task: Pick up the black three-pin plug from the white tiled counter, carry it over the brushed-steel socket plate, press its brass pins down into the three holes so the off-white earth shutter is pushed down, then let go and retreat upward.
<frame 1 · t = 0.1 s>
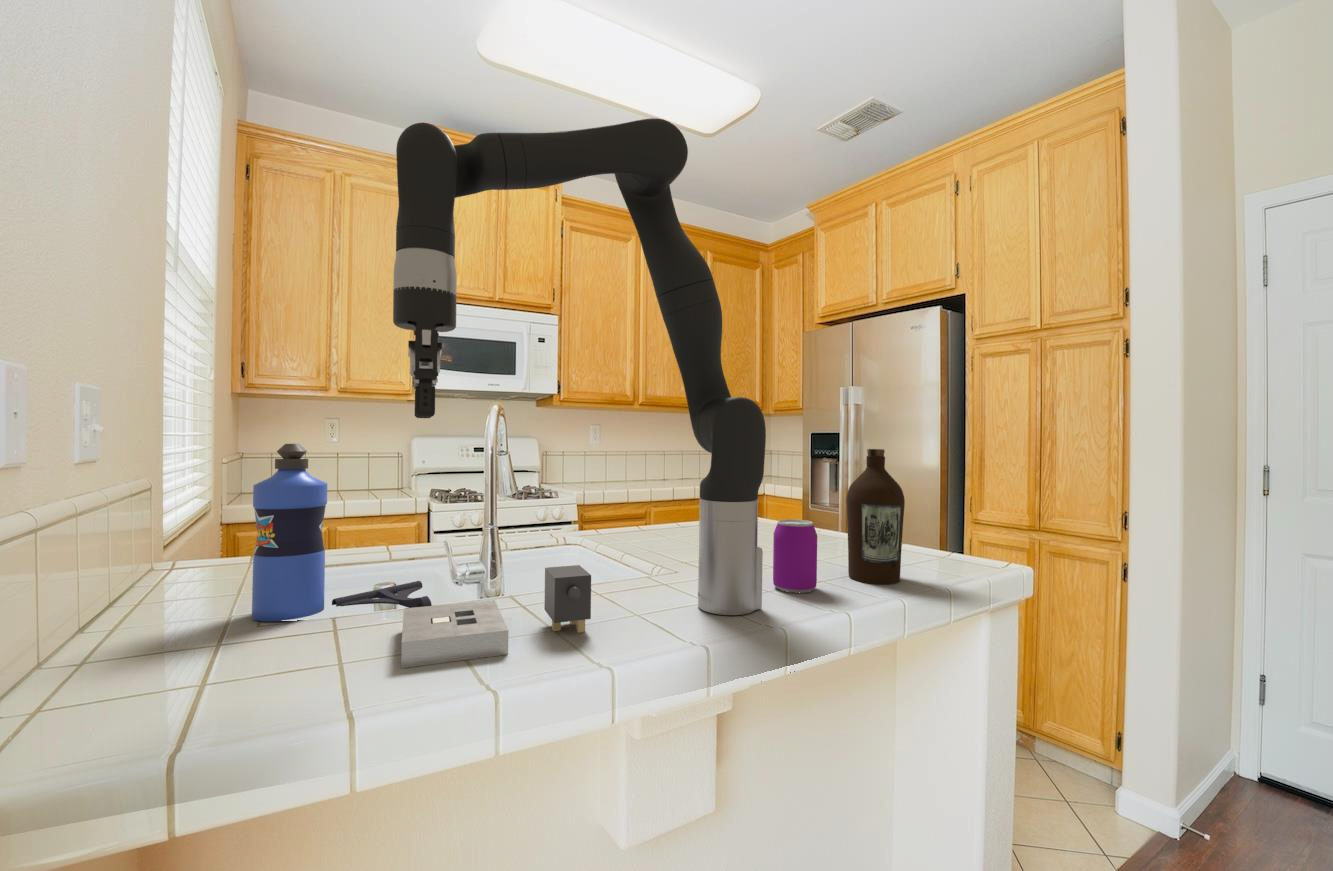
hand: (424, 417, 76), 29 cm above the countertop, fingers open, 8 cm apart
socket plate: (453, 641, 77), on the countertop
earth shutter: (440, 623, 76), point 3 cm above the countertop, slide at 0.0 cm
bracket: (400, 608, 94), on the countertop
plug: (566, 628, 83), on the countertop
blue detergent bottle: (288, 613, 88), on the countertop
beverage can: (794, 589, 106), on the countertop
olive oil: (873, 579, 114), on the countertop
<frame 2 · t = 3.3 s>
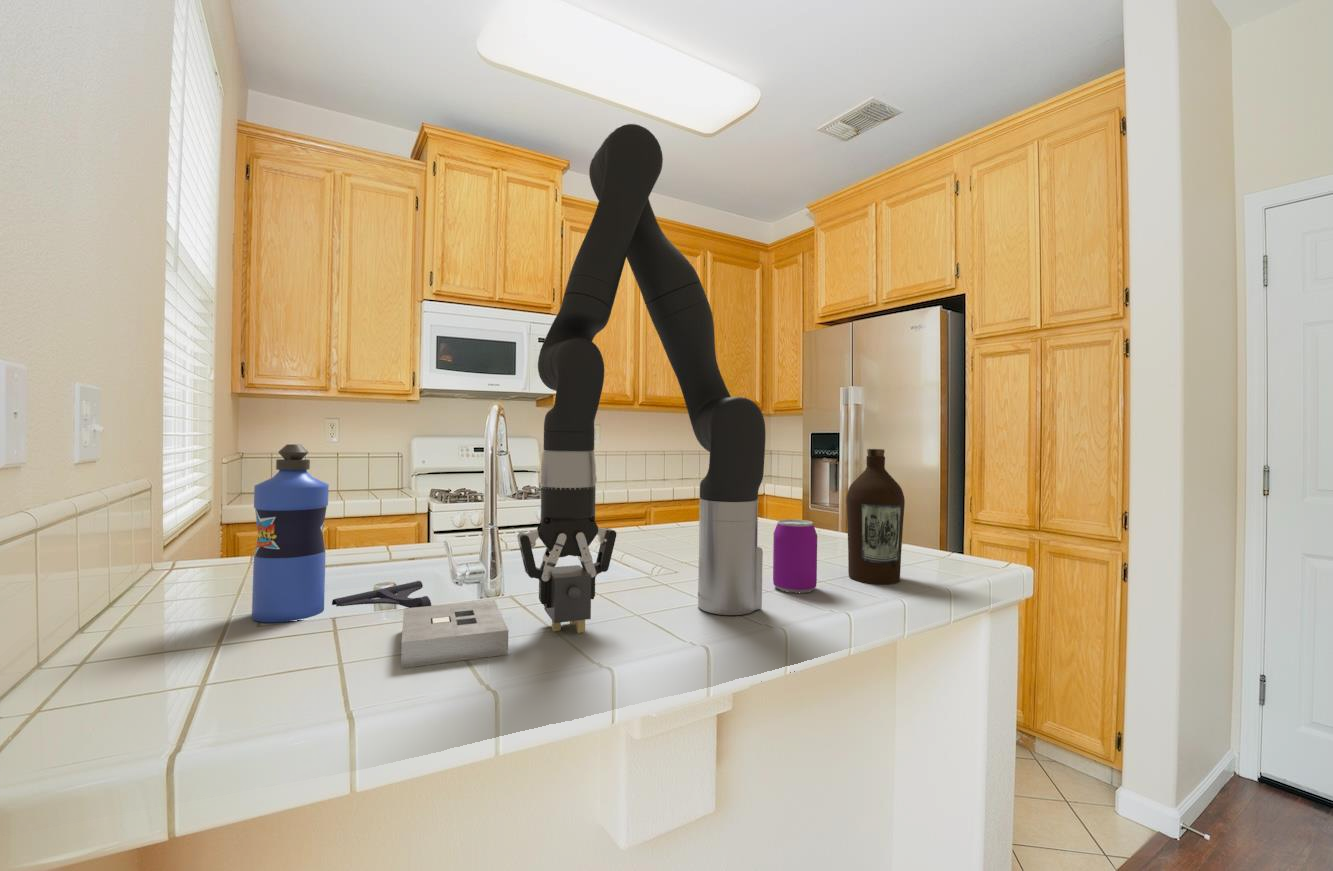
hand: (566, 604, 83), 3 cm above the countertop, fingers closed on plug, 5 cm apart
plug: (566, 628, 83), on the countertop, touching gripper
everything else where it was.
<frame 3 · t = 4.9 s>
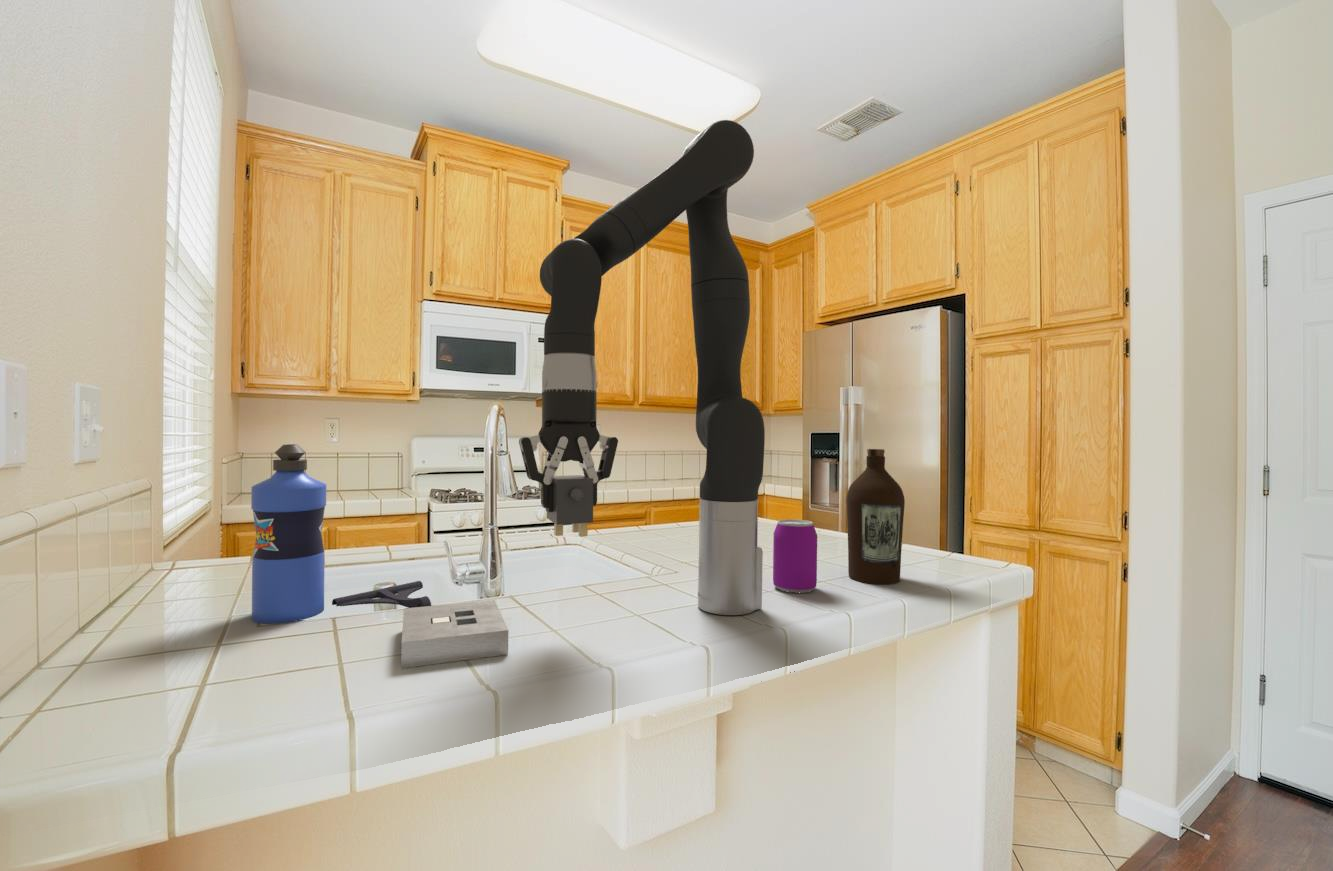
hand: (569, 509, 83), 17 cm above the countertop, fingers closed on plug, 5 cm apart
plug: (569, 534, 83), point 13 cm above the countertop, touching gripper
everything else where it was.
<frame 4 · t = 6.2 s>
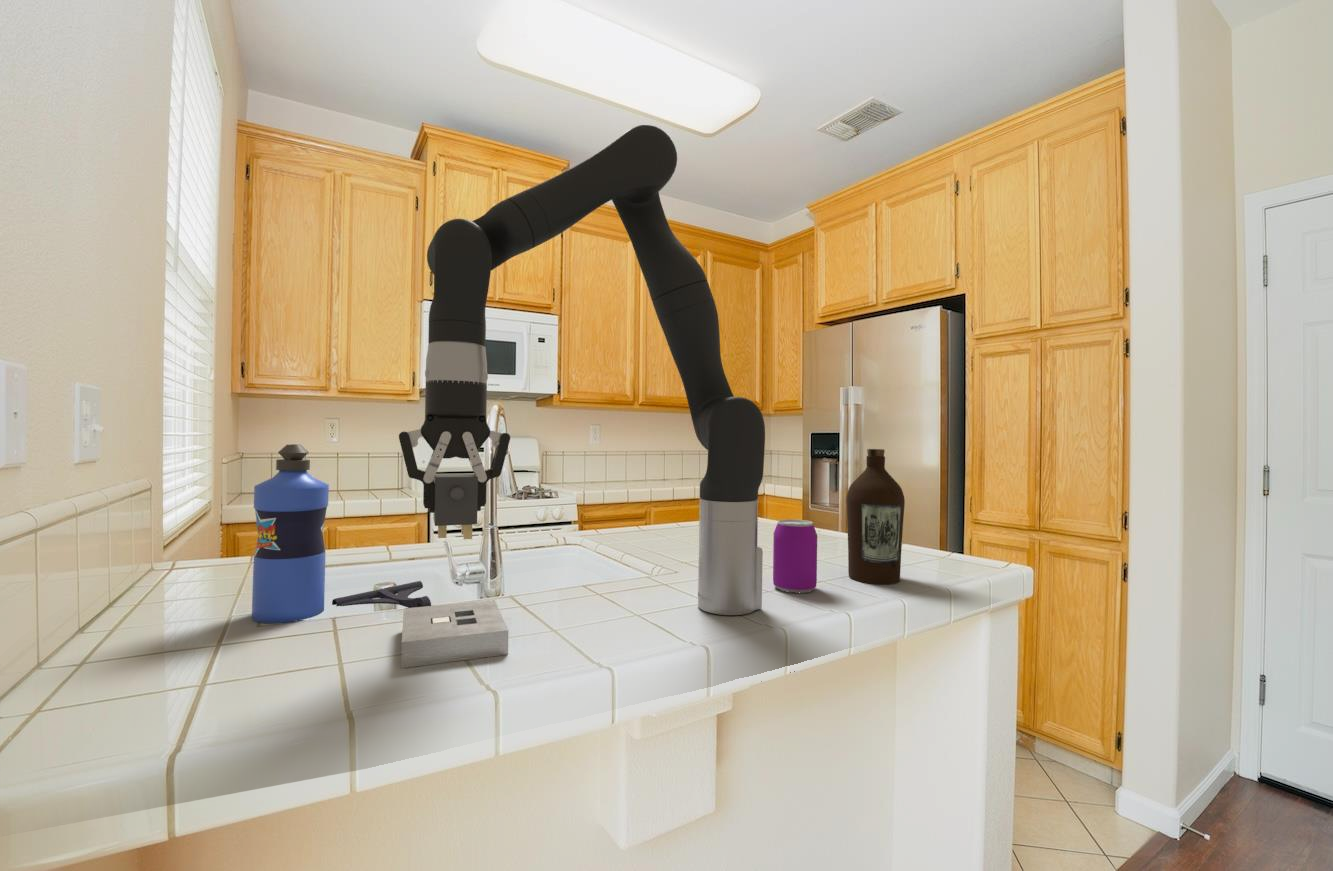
hand: (454, 510, 77), 17 cm above the countertop, fingers closed on plug, 5 cm apart
plug: (454, 536, 77), point 14 cm above the countertop, touching gripper
everything else where it was.
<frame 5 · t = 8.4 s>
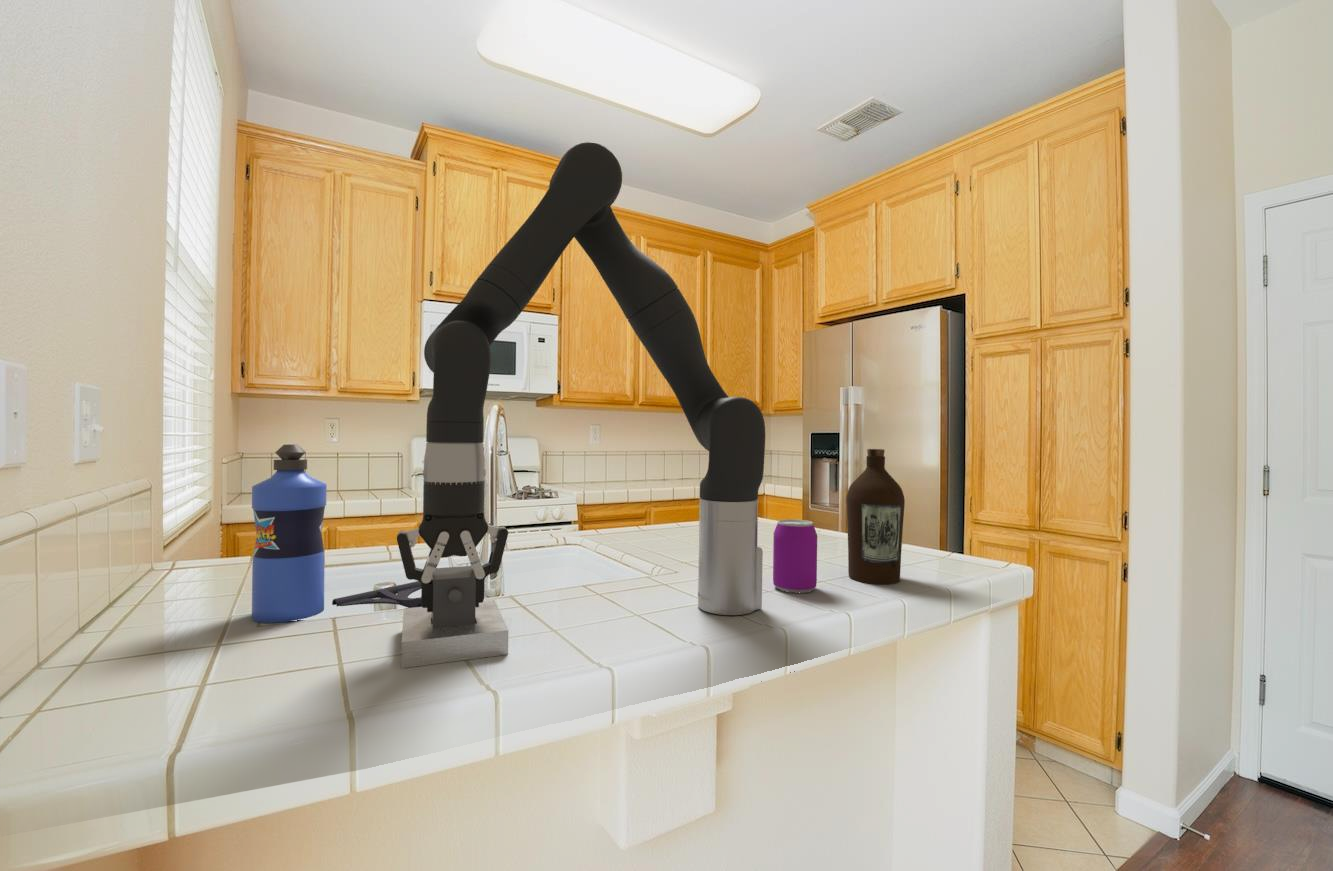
hand: (452, 607, 77), 4 cm above the countertop, fingers closed on plug, 5 cm apart
earth shutter: (440, 638, 76), point 1 cm above the countertop, slide at 2.0 cm
plug: (452, 633, 77), point 1 cm above the countertop, touching gripper, socket plate
everything else where it was.
when the fingers open (4 cm above the countertop, at t = 9.5 s): plug stays where it is, resting on socket plate.
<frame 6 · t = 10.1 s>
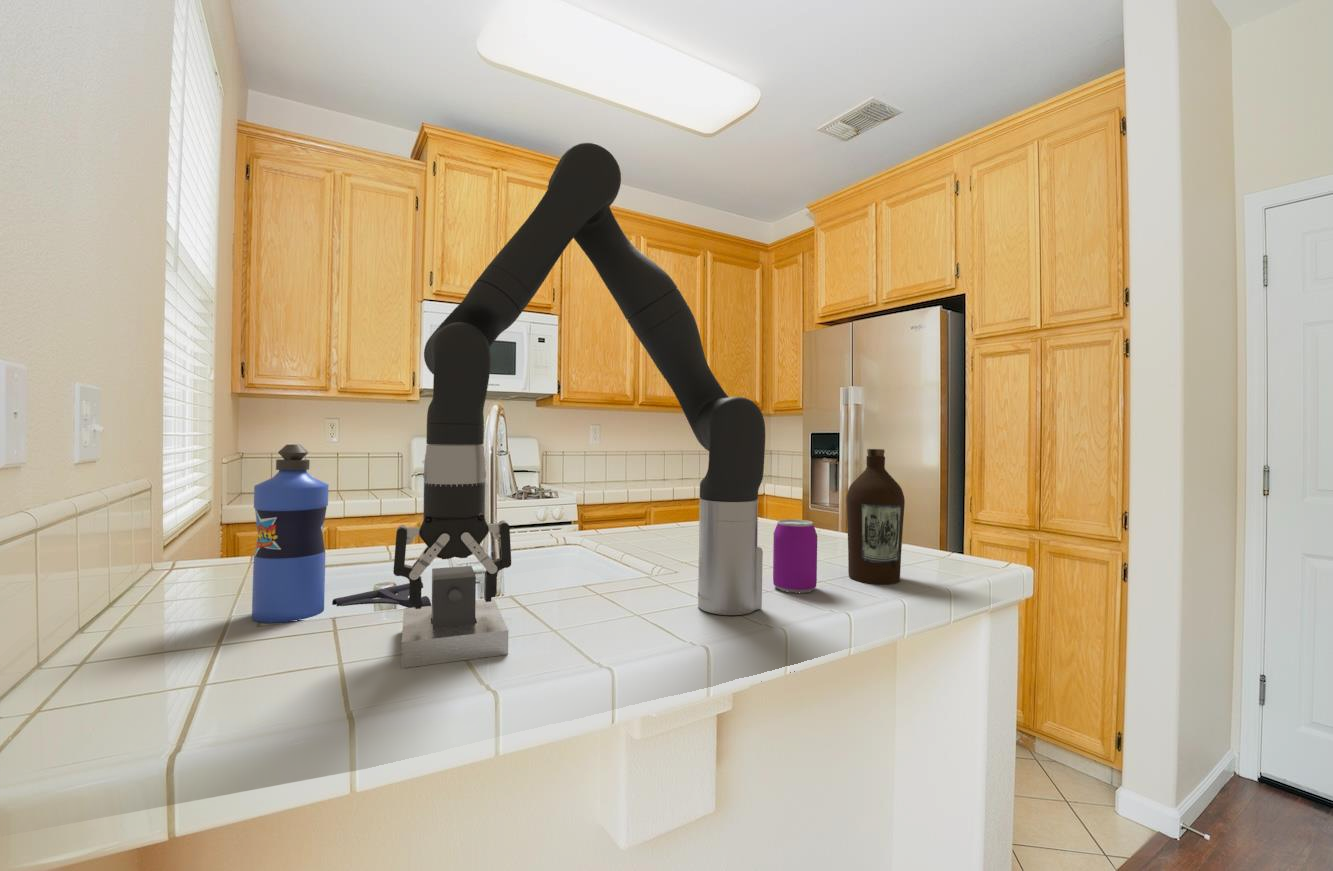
hand: (453, 604, 77), 5 cm above the countertop, fingers open, 8 cm apart
plug: (452, 633, 77), point 1 cm above the countertop, touching socket plate
everything else where it was.
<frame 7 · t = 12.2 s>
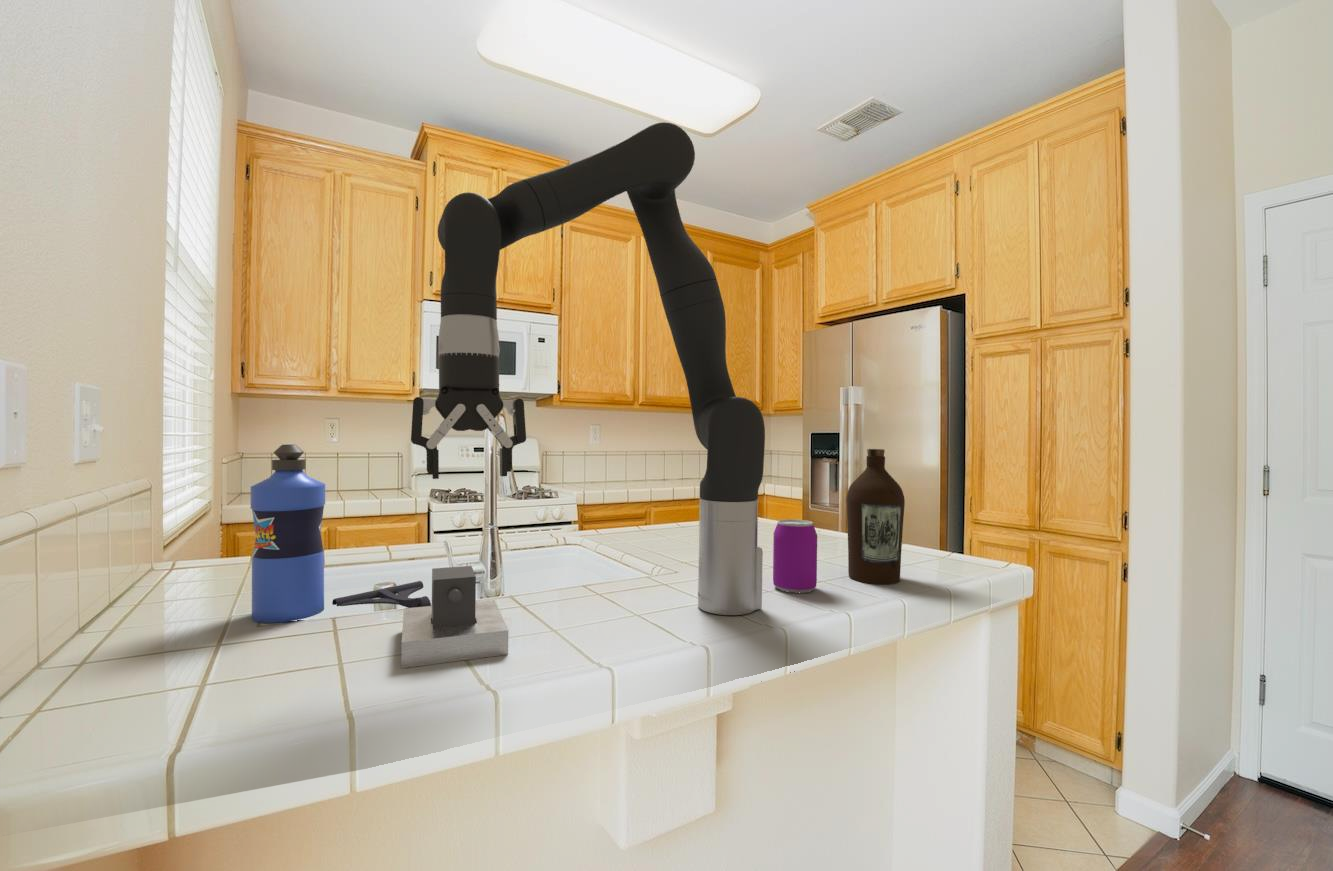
hand: (470, 477, 78), 21 cm above the countertop, fingers open, 8 cm apart
nothing on the countertop moved.
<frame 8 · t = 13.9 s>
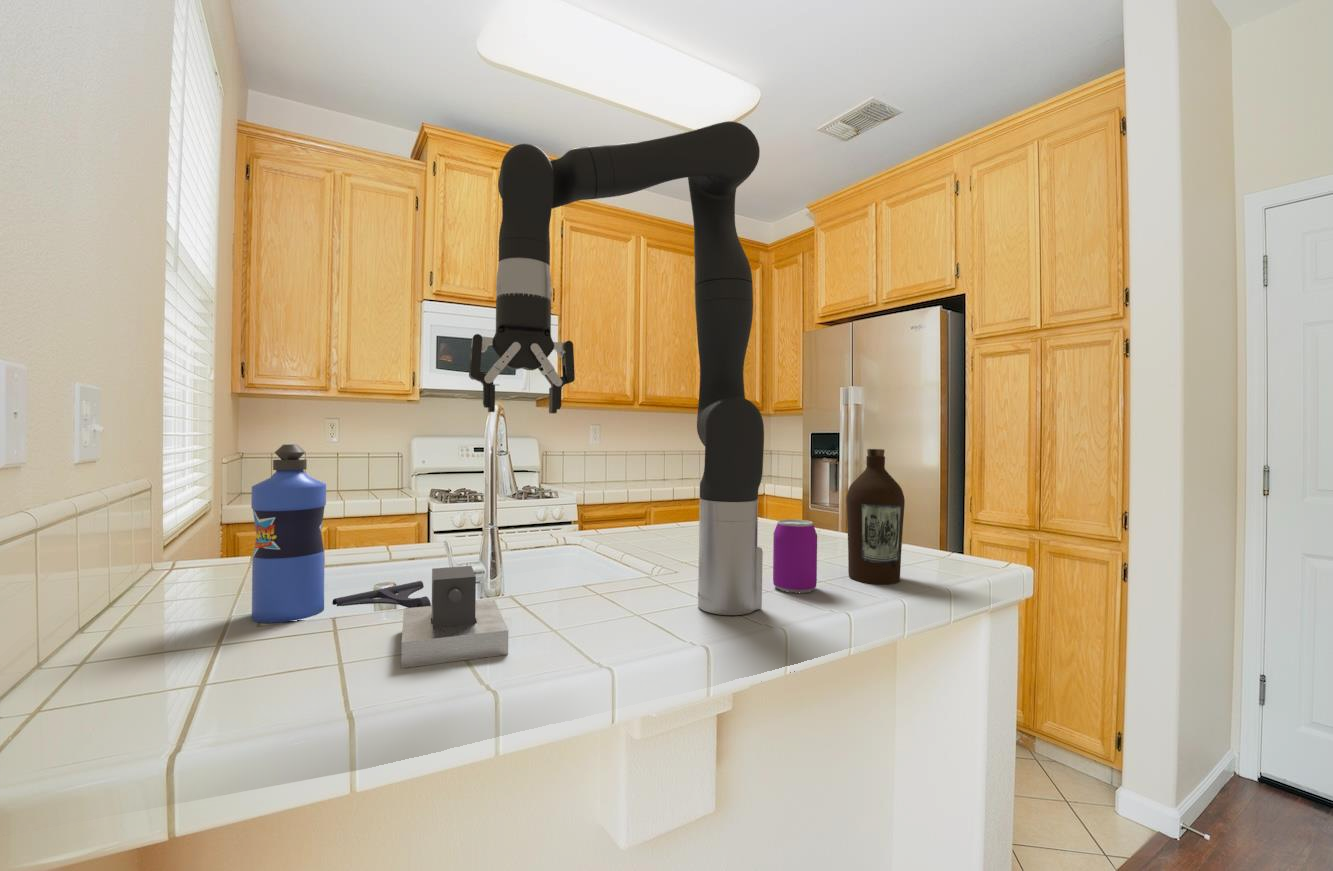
hand: (522, 412, 83), 30 cm above the countertop, fingers open, 8 cm apart
nothing on the countertop moved.
at the end: plug 0.1 cm off-centre on the socket plate, point 1.0 cm above the socket plate's base; earth shutter slide at 2.0 cm; the gripper is holding nothing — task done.
